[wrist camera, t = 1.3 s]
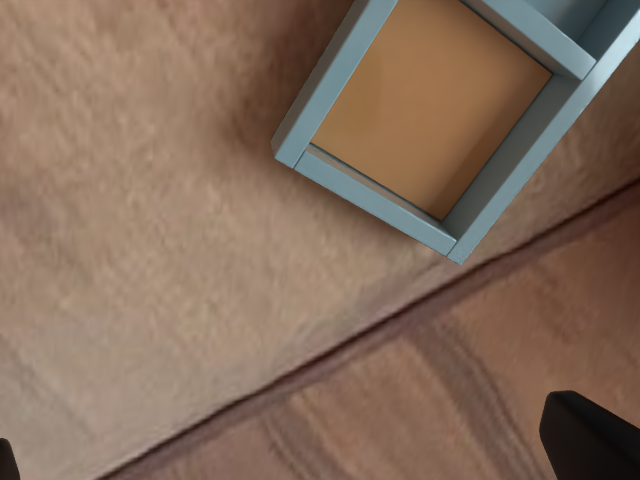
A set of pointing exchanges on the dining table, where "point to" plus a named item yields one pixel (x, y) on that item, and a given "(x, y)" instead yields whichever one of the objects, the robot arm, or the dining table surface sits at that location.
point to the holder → (449, 105)
